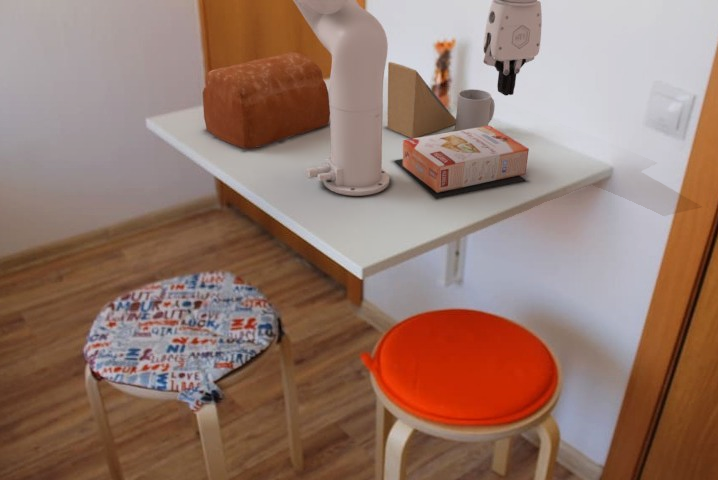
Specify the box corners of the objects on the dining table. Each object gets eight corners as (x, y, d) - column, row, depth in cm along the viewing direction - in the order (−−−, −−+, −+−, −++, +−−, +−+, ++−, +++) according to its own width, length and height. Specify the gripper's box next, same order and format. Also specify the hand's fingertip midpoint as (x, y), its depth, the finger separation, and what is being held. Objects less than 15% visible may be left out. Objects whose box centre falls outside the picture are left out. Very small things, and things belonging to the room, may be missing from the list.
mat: (436, 198, 134) (436, 197, 134) (394, 161, 147) (394, 160, 147) (526, 181, 142) (526, 180, 141) (478, 147, 155) (478, 146, 155)
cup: (448, 131, 162) (451, 93, 157) (480, 122, 167) (483, 85, 163) (470, 142, 157) (474, 102, 152) (502, 132, 163) (507, 94, 158)
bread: (336, 124, 163) (334, 59, 155) (247, 153, 148) (241, 82, 139) (287, 105, 172) (284, 42, 164) (199, 130, 157) (191, 62, 149)
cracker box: (530, 146, 140) (438, 165, 131) (526, 174, 143) (437, 195, 134) (489, 122, 150) (401, 139, 141) (486, 149, 153) (400, 167, 144)
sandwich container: (460, 122, 167) (465, 57, 159) (413, 139, 158) (416, 70, 149) (433, 112, 172) (437, 49, 164) (386, 127, 163) (388, 61, 154)
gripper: (492, 0, 124) (482, 103, 134) (563, -5, 130) (548, 94, 140) (470, -9, 130) (462, 91, 140) (538, -13, 135) (526, 83, 145)
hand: (505, 92), depth 140 cm, fingers closed
